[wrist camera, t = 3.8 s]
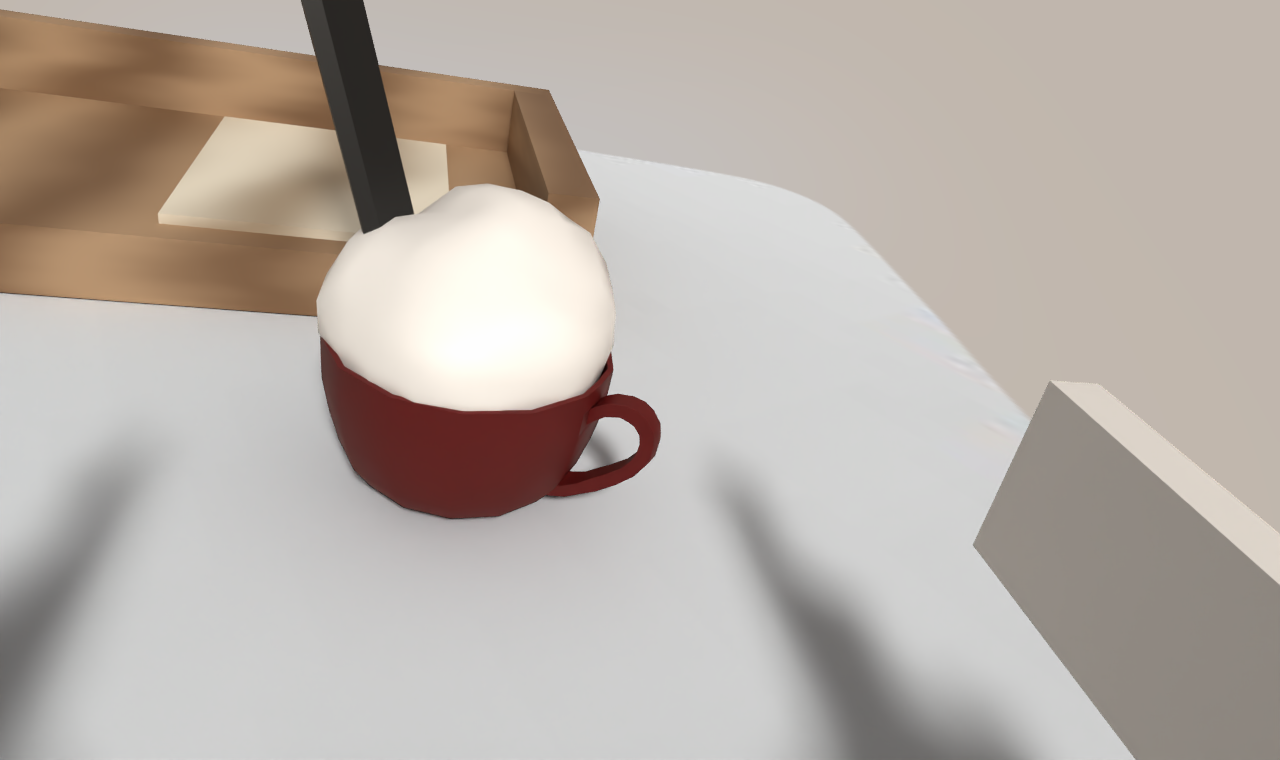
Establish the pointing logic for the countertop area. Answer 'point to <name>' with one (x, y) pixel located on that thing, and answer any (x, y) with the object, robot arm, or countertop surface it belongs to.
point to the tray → (226, 164)
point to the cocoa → (458, 321)
